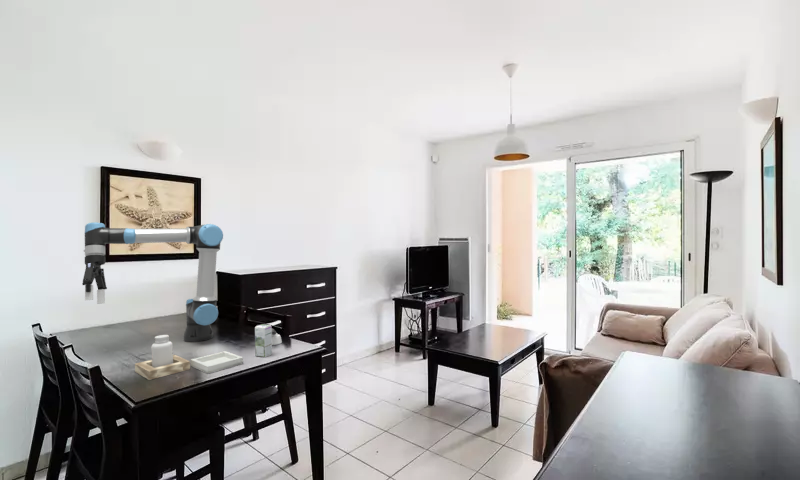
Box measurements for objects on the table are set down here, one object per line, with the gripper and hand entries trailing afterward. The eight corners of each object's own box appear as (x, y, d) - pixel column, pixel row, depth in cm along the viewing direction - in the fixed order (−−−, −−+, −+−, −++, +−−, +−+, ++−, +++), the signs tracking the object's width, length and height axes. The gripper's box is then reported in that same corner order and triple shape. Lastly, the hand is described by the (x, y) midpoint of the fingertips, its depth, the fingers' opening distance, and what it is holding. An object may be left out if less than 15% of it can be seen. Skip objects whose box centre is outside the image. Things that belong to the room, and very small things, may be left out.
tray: (225, 357, 189) (225, 351, 189) (243, 363, 179) (243, 357, 179) (190, 366, 177) (190, 359, 177) (207, 373, 167) (207, 366, 167)
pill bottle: (157, 367, 175) (157, 334, 175) (176, 367, 176) (176, 333, 176) (148, 374, 167) (147, 338, 167) (167, 373, 168) (167, 338, 168)
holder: (174, 362, 183) (174, 354, 183) (190, 369, 173) (189, 361, 173) (135, 371, 170) (134, 363, 170) (149, 380, 160) (148, 371, 160)
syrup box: (272, 354, 194) (272, 324, 193) (264, 357, 188) (264, 327, 188) (262, 353, 196) (262, 323, 195) (254, 356, 190) (254, 326, 190)
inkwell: (282, 340, 219) (282, 322, 219) (281, 349, 202) (281, 329, 202) (264, 341, 217) (264, 323, 217) (262, 350, 199) (262, 331, 199)
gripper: (95, 262, 192) (95, 306, 187) (73, 250, 169) (72, 299, 164) (114, 260, 194) (114, 303, 190) (94, 248, 172) (94, 297, 167)
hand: (95, 301), depth 177 cm, fingers open, 13 cm apart
